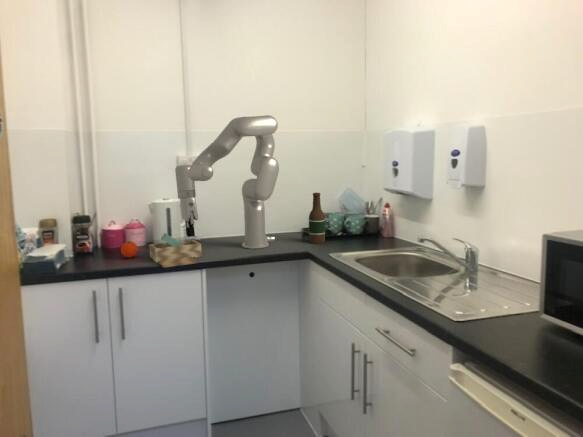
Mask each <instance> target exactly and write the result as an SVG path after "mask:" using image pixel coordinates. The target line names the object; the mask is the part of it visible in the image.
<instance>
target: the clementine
mask: <svg viewBox="0 0 583 437" xmlns="http://www.w3.org/2000/svg"><path fill="white" fill-rule="evenodd" d="M138 250H139V248H138V245H137V244H136V243H135V242H134V241H126V242H124V243H123V244H122V245H121V247H120V252H121V255H123V257H125V258H128V259H133V257H135V256H136V255H137V253H138V252H139V251H138Z"/></svg>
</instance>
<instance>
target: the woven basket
mask: <svg viewBox="0 0 583 437" xmlns="http://www.w3.org/2000/svg"><path fill="white" fill-rule="evenodd" d="M179 242H180V243H182V244H183V246H174V247H173V246H171V245H170V244H168V243H166V242H159V243H158V242H157V243H151V244H149V245H148V246H149V258H150V259H152V260H153V261H154V262H155V263H158V261H162V260H170V259H178V258H185V257H195V258H201V256H202V257H203V254H202V243H200V242H199V241H197V240H195V239H186V240H179Z"/></svg>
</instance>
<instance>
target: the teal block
mask: <svg viewBox="0 0 583 437" xmlns="http://www.w3.org/2000/svg"><path fill="white" fill-rule="evenodd" d="M160 240H162V241H163V242H164V243H168V244H170V245H171V246H173V247H174V246H183V244H182V243H180V242H179V241H180V240H179V241H178V240H177V239H175V238H173V237H172V236H171V235H169V234H167V233H166V232H165V233H163V235H162V236H161V237H160Z"/></svg>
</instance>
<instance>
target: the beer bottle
mask: <svg viewBox="0 0 583 437" xmlns="http://www.w3.org/2000/svg"><path fill="white" fill-rule="evenodd" d="M308 241H309V243H310V244H314V245H315V244H317V245H319V244H324V243H325V241H326V216H325V213H324V212H323V210H322V205H321V193H320V192H313V193H312V209H311V211H310V212H309V215H308Z"/></svg>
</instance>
